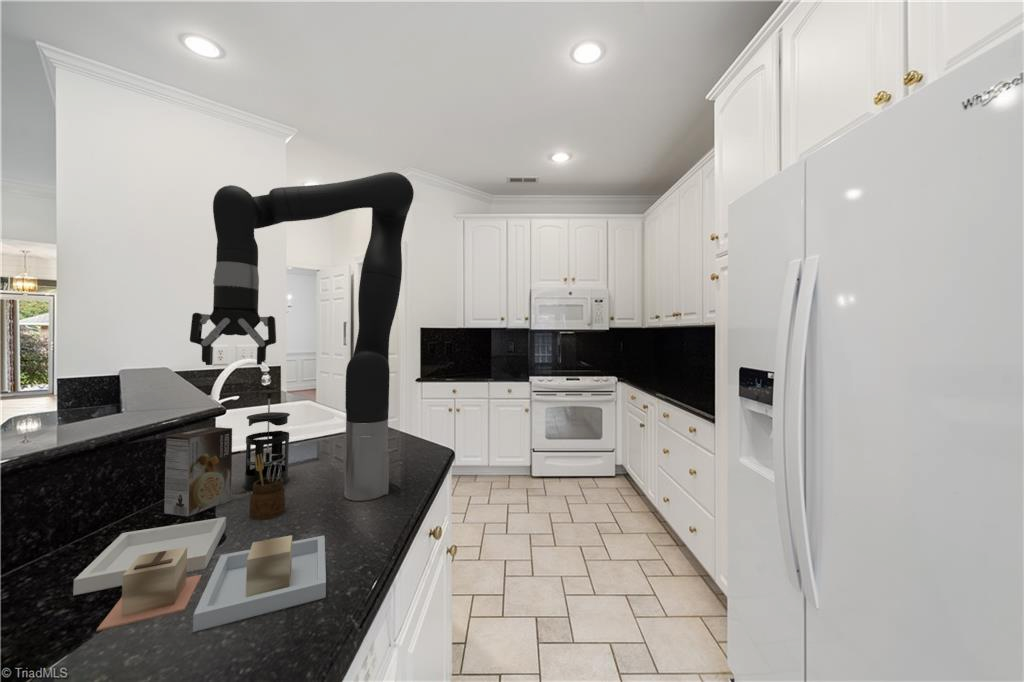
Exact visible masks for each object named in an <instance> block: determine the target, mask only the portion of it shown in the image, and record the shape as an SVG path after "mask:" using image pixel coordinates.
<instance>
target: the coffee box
mask: <svg viewBox="0 0 1024 682" xmlns="http://www.w3.org/2000/svg"><path fill="white" fill-rule="evenodd" d="M164 454H165V455H164V456H165V464H164V471H165V472H164V506H163V507H164V510H163V511H164V514H165V515H166V514H167V515H168V514H169V515H175V516H181V517H190V516H193V515H196V514H198V513H201V512H203V511H206V510H207V509H211V508H213V507H216V506H219V505H225V504H226V503H229V502H231V501H232V472H233V471H232V467H233V466H232V465H233V464H232V463H233V462H232V461H233V458H232V457H233V428H231V427H219V426H208V427H207V426H206V427H203V428H197V429H194V430H193V429H192V430H188V431H184V432H179V433H175V434H174V433H173V434H169V435H165V453H164Z"/></svg>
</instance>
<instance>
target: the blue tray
mask: <svg viewBox="0 0 1024 682" xmlns="http://www.w3.org/2000/svg"><path fill="white" fill-rule="evenodd" d="M325 542H326V541H325V535H320V536H319V535H318V536H313V537H309V538H303V539H299V540H294V541H293V540H292V567H291V576H290V585H289V587H287V588H283V589H279V590H275V591H270V592H266V593H262V594H258V595H254V596H250V597H246V575H247V558H248V555H249V552H250V549H247V550H246V549H245V550H241V551H235V552H230V553H226V554H225V553H224V554H220V556H219V559H218V560H217V563H216V565H215V567H214V569H213V571H212V574H211V575H210V577H209V580H208V582H207V585H206V586H205V589H204V591H203V593H202V595H201V597H200V600H199V602H198V603H197V606H196V608H195V610H194V612H193V616H192V617H193V618H192V620H193V621H192V633H196V632H199V631H203V630H207V629H210V628H215V627H218V626H219V627H220V626H222V625H226V624H230V623H234V622H237V621H241V620H245V619H248V618H249V619H250V618H253V617H257V616H260V615H264V614H269V613H271V612H276V611H280V610H283V609H284V610H285V609H287V608H292V607H296V606H298V605H303V604H307V603H311V602H314V601H318V600H322V599H326V597H327V596H326V595H327V592H326V591H327V588H326V587H327V574H326V573H327V571H326V570H327V569H326V546H325V545H326V543H325Z"/></svg>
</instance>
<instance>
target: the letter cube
mask: <svg viewBox="0 0 1024 682" xmlns="http://www.w3.org/2000/svg"><path fill="white" fill-rule="evenodd" d="M187 573H188V572H187V547H183V548H178V549H172V550H167V551H161V552H155V553H150V554H144V555H140V556H139V557H138V558H137V559H136V560H135V561H134V563H133V564H132V565H131V566H130V567H129V569H128V570H127V571H126V572H125V573H124V575H123V581H122V586H121V597H122V610H121V617H122V616H126V615H131V614H135V613H139V612H144V611H148V610H152V609H157V608H161V607H165V606H170V605H174V604H175V602H176V600H177V598H178V597H179V595H180V593H181V591H182V589H183V588H184V586H185V584H186V577H187Z"/></svg>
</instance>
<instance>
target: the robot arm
mask: <svg viewBox="0 0 1024 682" xmlns="http://www.w3.org/2000/svg"><path fill="white" fill-rule="evenodd" d="M414 193H415V192H414V188H413V184H412V183H411V181H410V180H409V179H408V178H407V177H406V176H405V175H403V174H401V173H399V172H394V171H388V172H386V171H385V172H381V173H377V174H373V175H369V176H365V177H361V178H356V179H350V180H345V181H340V182H333V183H332V182H331V183H324V184H315V185H314V184H311V185H298V186H297V185H296V186H283V187H280V186H279V187H275V188H272V189H271V190H269V192H268V194H264V195H263V194H262V195H257V196H253V195H252V194H251V193H250V192H249V191H248V190H246V189H245V188H242V187H241V186H238V185H232V184H231V185H230V184H229V185H226V186H225V185H224V186H223V187H221V188H219V189H218V190H217V191H216V192H215V195H214V197H213V201H212V213H213V215H212V216H213V220H214V226H215V227H214V228H215V234H216V239H217V243H216V256H215V257H216V262H215V263H216V264H215V269H214V273H213V274H214V277H213V307H212V308H213V309H212V312H211V314H206V313H200V312H193V314H192V315H191V324H190V335H189V342H190V343H193V344H197V345H200V347H201V361H202V363H205V366H212V365H213V360H214V357H213V356H214V354H213V353H214V346H212V345H213V343H214V342H215V341H216V340H218V339H219V338H221V336H222V335H224V336H235V335H236V336H240V337H241V336H243V337H245V336H248V335H249V337H251V339H253V341H254V342H255V343H256V344H257V345H258V346H257V347H256V348H257V349H256V365H259V366H260V365H263V363H265V362H266V359H267V357H266V356H267V347H268V346H270V345H274V344H275V345H276V343H277V329H276V328H277V327H276V318H275V317H274V316H272V315H269V316H260V314H259V294H260V293H259V285H260V277H259V246H258V243H257V240H256V238H255V230H256V229H263V228H267V227H270V226H274V225H279V224H281V223H284V222H285V223H286V222H299V221H301V222H302V221H312V220H317V219H321V218H322V219H323V218H326V217H327V218H328V217H330V216H333V215H336V214H339V213H342V212H347V211H350V210H355V209H356V210H357V209H369V208H370V209H371V229H370V231H371V232H370V237H369V241H368V245H367V247H366V251H365V253H364V258H363V261H362V266H361V271H360V278H359V287H358V297H357V298H358V299H357V301H358V303H357V306H358V309H357V310H358V330H357V331H358V332H357V337H356V343H355V347H354V351H353V355H352V357H351V359H350V360H349V361H348V363H347V366H346V369H345V370H346V371H345V372H346V373H345V404H344V405H345V414H346V415H345V447H344V449H345V450H344V451H345V455H344V456H345V457H344V459H345V460H344V487H343V488H344V495H343V496H344V497H345V499H347V500H350V501H354V502H355V501H356V502H362V501H370V500H374V499H377V498H381V497H382V496H385V495H386V496H387V495H389V481H390V478H389V476H390V453H389V450H388V449H389V448H388V444H389V443H388V442H389V441H388V440H389V439H388V438H389V410H390V363H389V361H390V356H389V355H390V353H389V352H390V351H389V350H390V336H391V331H392V327H393V323H394V319H395V316H396V312H397V307H398V303H399V298H400V291H401V284H402V278H403V277H402V275H403V255H402V253H403V252H402V240H403V233H404V231H405V230H404V229H405V224H406V220H407V216H408V214H409V211H410V209H411V205H412V203H413V201H414V200H413V199H414V195H415V194H414ZM208 321H210V322H211V323H212V324H213V325H214V326H215V327H214V328H213V329H212V330H211V331H210V332H209V333H208V335H207V336H205V337H204V338H202V333H203V332H202V331H203V325H206V324H207V322H208ZM260 323H262V324H263V326H264V327H267V336H268V337H267V339H264V338H263V337H262V336H261V335H260V334H259V332H258V331H257V330H256V329H255V328H256V327H257V326H258V325H259V324H260Z"/></svg>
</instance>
